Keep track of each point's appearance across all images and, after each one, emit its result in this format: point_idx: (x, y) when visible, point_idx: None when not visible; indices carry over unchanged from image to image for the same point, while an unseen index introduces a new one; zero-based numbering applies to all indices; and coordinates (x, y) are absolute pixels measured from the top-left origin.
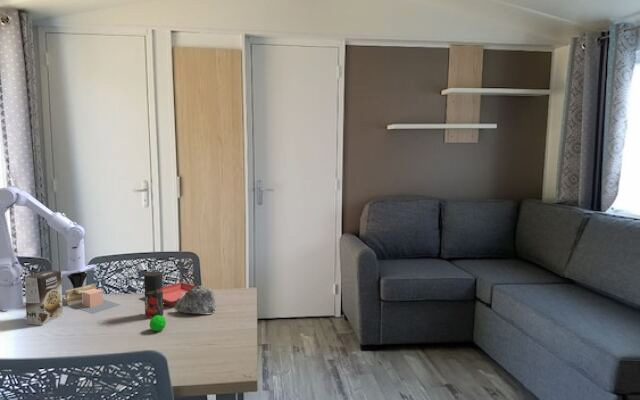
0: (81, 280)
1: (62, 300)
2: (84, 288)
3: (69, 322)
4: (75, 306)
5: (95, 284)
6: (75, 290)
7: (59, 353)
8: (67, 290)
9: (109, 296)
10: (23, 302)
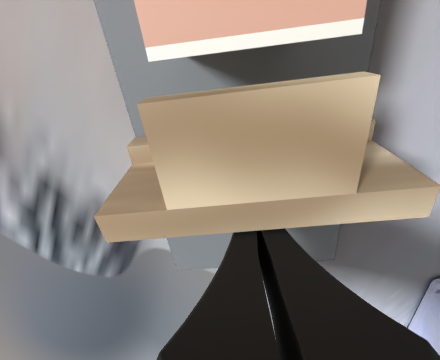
0: (254, 291)
1: (311, 234)
2: (257, 149)
3: None
4: (354, 45)
5: (97, 213)
6: (359, 162)
7: None
8: (407, 214)
9: (51, 114)
10: (425, 310)
